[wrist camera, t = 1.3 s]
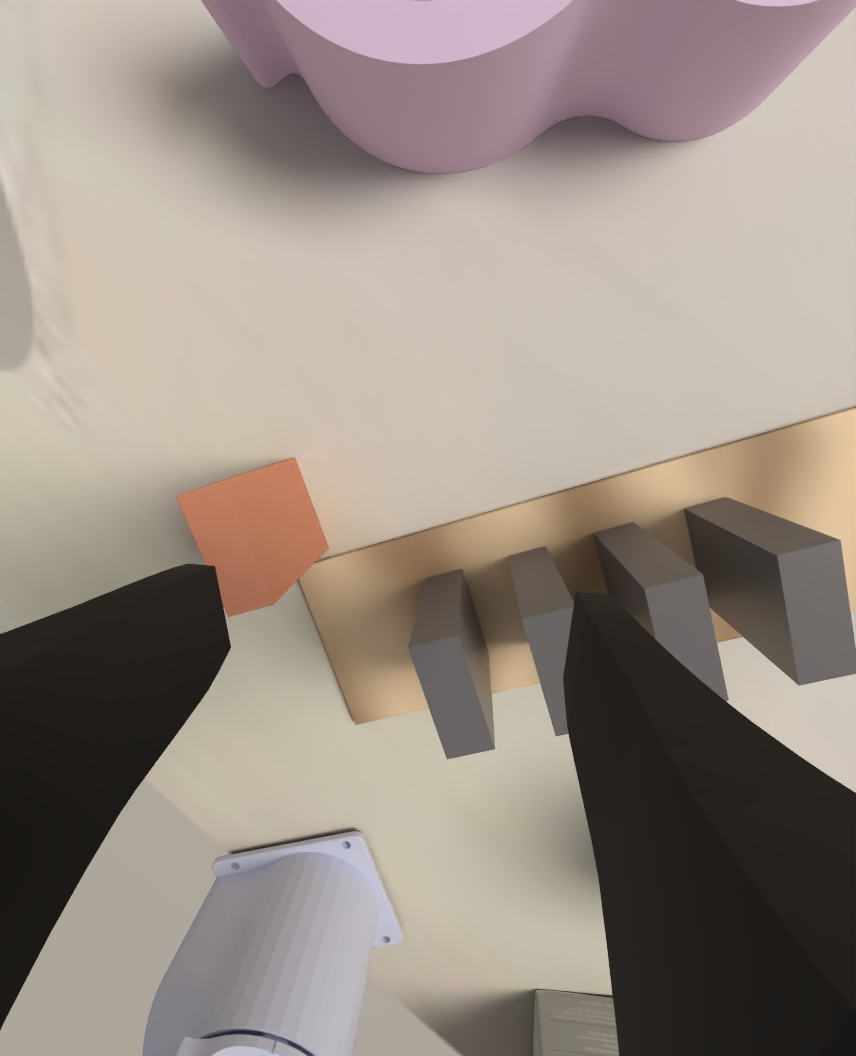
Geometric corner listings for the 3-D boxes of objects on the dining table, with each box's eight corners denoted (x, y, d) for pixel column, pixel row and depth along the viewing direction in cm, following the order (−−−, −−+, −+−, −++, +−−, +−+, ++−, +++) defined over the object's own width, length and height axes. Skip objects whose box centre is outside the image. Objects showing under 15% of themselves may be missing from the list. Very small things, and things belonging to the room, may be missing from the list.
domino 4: (703, 601, 23) (799, 685, 16) (683, 508, 22) (777, 556, 15) (743, 592, 23) (858, 673, 16) (726, 496, 22) (840, 539, 15)
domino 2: (532, 642, 24) (556, 736, 17) (507, 556, 23) (521, 619, 16) (569, 633, 24) (607, 725, 17) (545, 545, 23) (575, 605, 16)
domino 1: (454, 661, 25) (446, 759, 18) (426, 578, 24) (407, 647, 17) (489, 653, 25) (495, 748, 18) (462, 568, 24) (458, 635, 17)
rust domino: (295, 557, 25) (228, 616, 18) (260, 468, 24) (175, 495, 17) (328, 548, 24) (273, 604, 18) (295, 457, 23) (222, 480, 17)
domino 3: (615, 622, 24) (672, 711, 17) (593, 532, 23) (644, 589, 16) (654, 613, 23) (728, 700, 17) (633, 521, 22) (702, 574, 16)
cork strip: (356, 721, 27) (355, 724, 26) (296, 567, 25) (294, 569, 24) (890, 599, 22) (895, 601, 22) (867, 403, 21) (872, 403, 20)
